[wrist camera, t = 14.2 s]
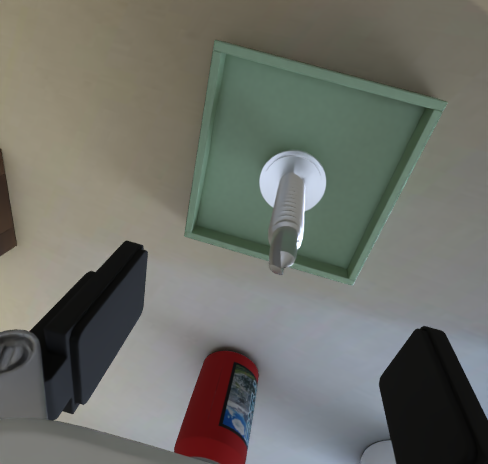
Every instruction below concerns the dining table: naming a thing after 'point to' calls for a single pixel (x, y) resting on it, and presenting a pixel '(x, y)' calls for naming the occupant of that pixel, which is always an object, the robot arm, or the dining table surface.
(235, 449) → the beverage can
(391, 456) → the bottle
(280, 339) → the dining table surface
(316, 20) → the dining table surface
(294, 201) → the screw
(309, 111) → the tray
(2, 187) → the holder
